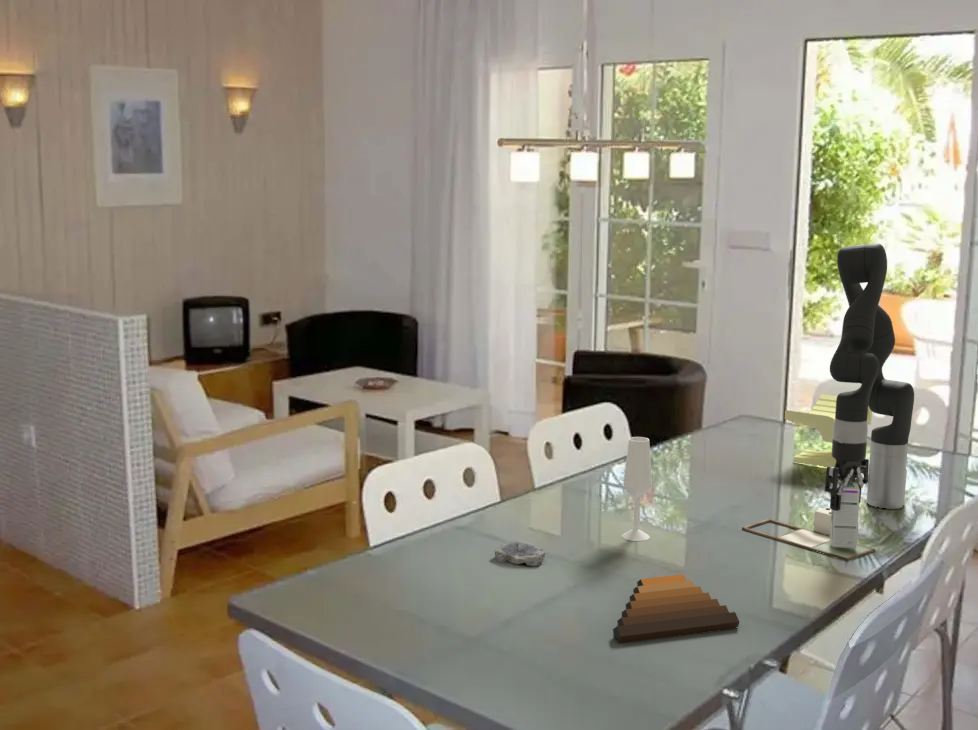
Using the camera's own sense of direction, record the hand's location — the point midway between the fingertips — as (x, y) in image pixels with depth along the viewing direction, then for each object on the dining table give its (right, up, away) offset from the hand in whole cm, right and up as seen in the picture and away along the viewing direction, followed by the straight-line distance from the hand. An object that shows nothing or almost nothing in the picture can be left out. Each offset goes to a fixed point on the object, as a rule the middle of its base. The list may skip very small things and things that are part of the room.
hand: (845, 506), depth 268 cm
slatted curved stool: (+19, +3, +80) cm, 82 cm away
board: (-6, -9, +9) cm, 14 cm away
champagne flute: (-47, -9, +10) cm, 49 cm away
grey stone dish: (-75, -12, -6) cm, 76 cm away
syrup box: (0, -9, +2) cm, 9 cm away
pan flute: (-50, -18, -36) cm, 64 cm away
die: (+1, -8, +16) cm, 18 cm away
